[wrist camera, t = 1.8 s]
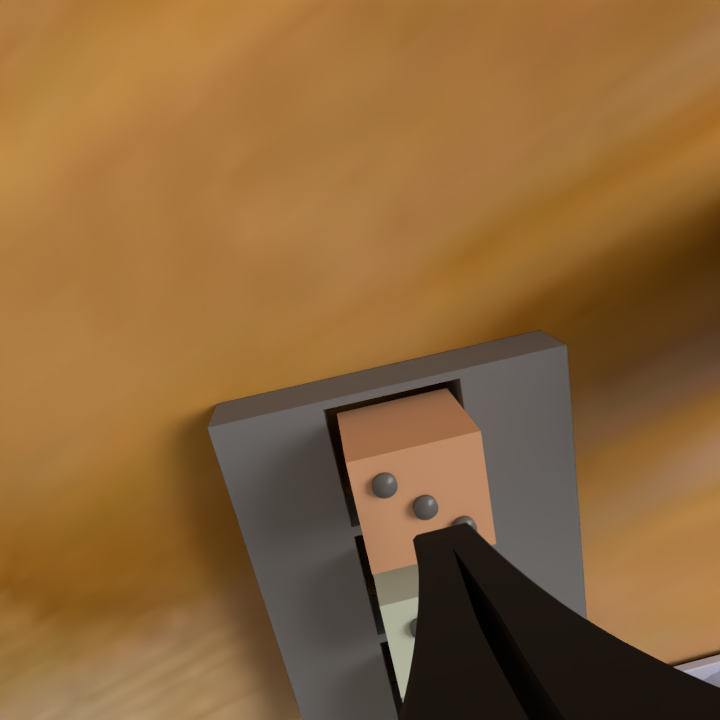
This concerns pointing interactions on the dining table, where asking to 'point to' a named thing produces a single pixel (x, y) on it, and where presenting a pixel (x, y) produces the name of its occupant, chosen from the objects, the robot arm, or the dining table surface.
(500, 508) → the button board
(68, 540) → the dining table surface
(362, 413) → the orange dice cube
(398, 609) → the pale green cube
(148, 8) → the dining table surface
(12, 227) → the dining table surface
